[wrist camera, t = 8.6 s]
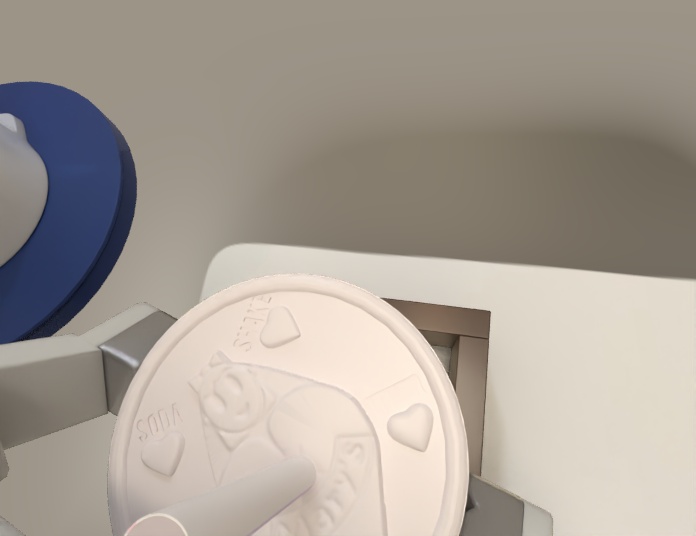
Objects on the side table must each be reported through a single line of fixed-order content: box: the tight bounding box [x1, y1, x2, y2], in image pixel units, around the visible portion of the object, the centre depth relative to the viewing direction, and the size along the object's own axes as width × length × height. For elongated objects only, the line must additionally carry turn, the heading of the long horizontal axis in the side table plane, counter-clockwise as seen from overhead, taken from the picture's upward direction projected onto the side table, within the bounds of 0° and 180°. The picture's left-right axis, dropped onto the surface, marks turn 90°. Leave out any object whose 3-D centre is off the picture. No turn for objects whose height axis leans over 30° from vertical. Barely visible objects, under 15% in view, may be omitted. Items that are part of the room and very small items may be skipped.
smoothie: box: [107, 273, 469, 536], centre depth 10 cm, size 6×6×14 cm
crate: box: [381, 298, 491, 477], centre depth 26 cm, size 13×13×5 cm
